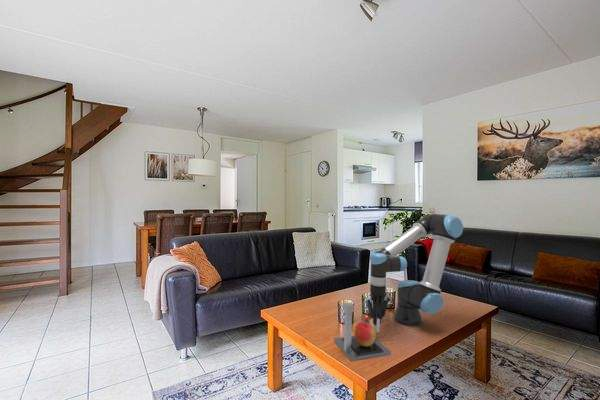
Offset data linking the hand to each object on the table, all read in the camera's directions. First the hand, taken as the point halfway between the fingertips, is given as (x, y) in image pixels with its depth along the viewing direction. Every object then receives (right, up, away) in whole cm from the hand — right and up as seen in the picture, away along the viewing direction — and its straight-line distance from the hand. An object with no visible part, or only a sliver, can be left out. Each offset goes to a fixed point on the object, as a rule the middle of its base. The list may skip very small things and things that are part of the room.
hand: (376, 330), depth 150 cm
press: (-10, -4, -9) cm, 14 cm away
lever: (-6, -2, -2) cm, 6 cm away
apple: (-9, -2, -12) cm, 15 cm away
